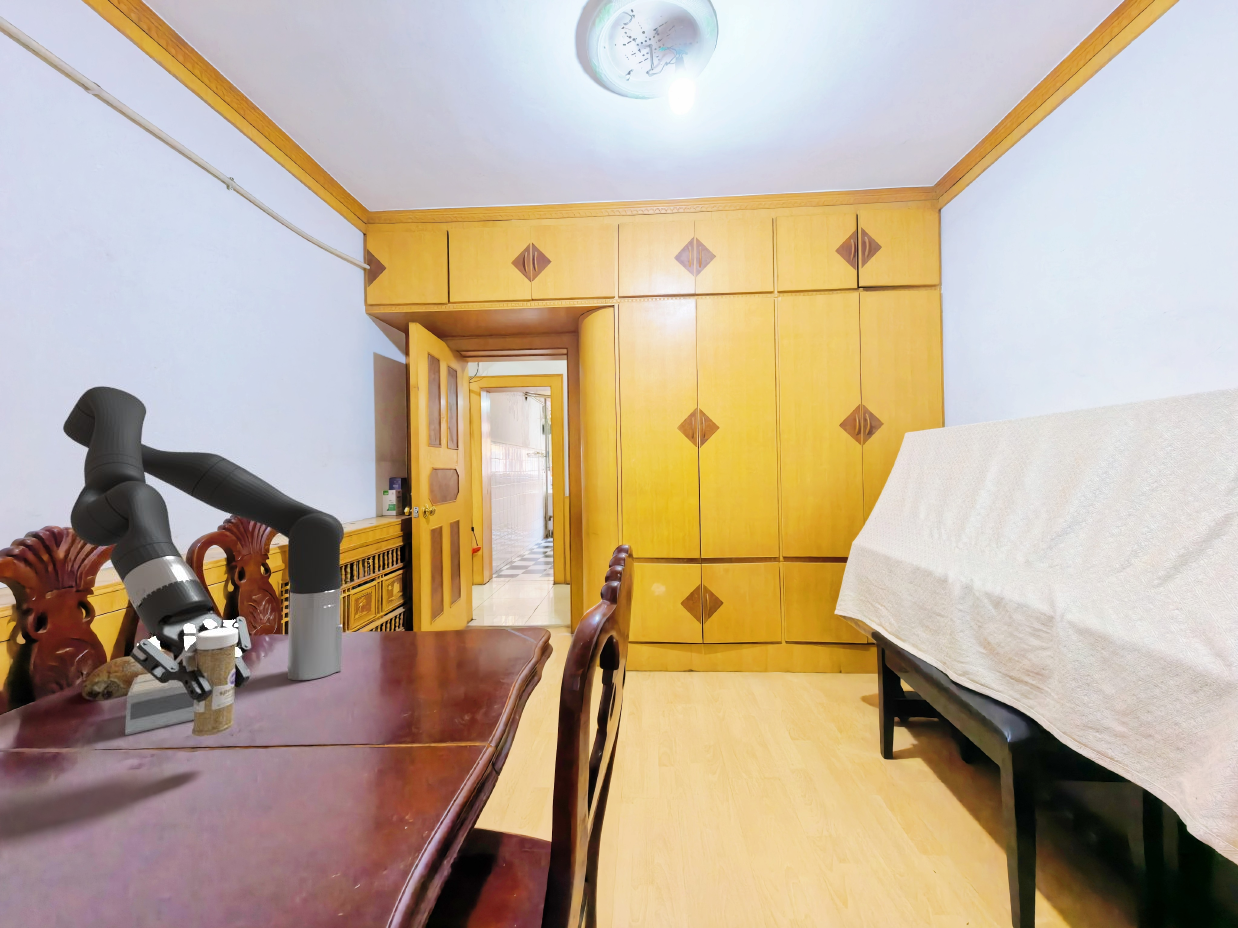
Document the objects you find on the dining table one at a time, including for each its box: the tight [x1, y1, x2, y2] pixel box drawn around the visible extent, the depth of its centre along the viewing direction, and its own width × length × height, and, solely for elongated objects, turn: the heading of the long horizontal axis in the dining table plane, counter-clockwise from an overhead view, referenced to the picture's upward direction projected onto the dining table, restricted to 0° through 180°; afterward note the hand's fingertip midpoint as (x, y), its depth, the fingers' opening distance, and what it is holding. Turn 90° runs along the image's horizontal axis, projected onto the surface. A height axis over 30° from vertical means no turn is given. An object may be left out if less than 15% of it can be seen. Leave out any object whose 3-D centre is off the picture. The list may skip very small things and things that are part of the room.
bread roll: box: [81, 656, 150, 701], centre depth 96 cm, size 10×10×8 cm
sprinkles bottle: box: [191, 628, 238, 737], centre depth 69 cm, size 5×5×13 cm
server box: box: [125, 674, 194, 736], centre depth 85 cm, size 12×10×6 cm
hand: (224, 689), depth 68 cm, fingers closed on sprinkles bottle, 4 cm apart
